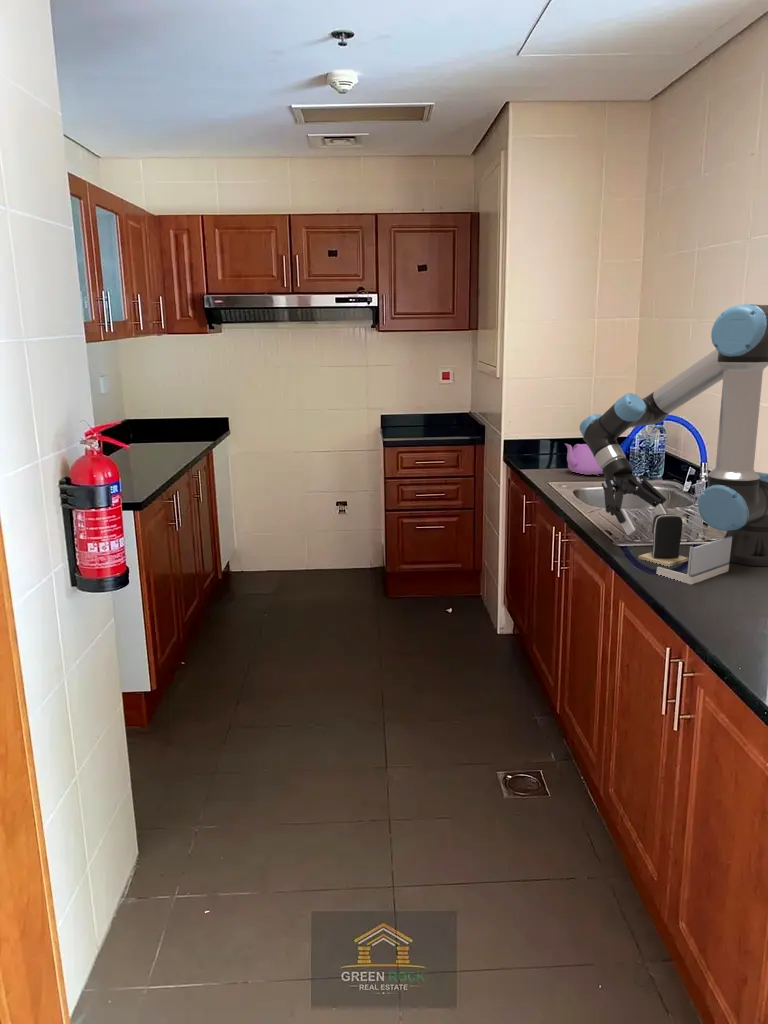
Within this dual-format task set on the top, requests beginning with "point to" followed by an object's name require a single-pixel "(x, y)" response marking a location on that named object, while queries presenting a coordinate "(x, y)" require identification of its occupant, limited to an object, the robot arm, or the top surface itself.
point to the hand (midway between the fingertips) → (650, 529)
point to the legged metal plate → (703, 562)
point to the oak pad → (663, 559)
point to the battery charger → (666, 536)
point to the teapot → (582, 460)
